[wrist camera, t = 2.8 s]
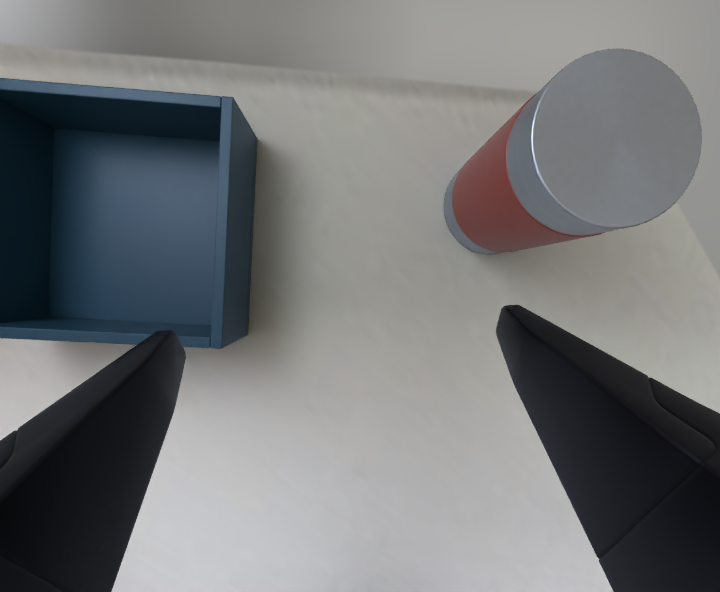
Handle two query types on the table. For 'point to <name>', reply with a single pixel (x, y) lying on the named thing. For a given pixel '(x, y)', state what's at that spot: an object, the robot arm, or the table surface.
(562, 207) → the tin can
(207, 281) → the tote
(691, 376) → the table surface
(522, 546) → the table surface
